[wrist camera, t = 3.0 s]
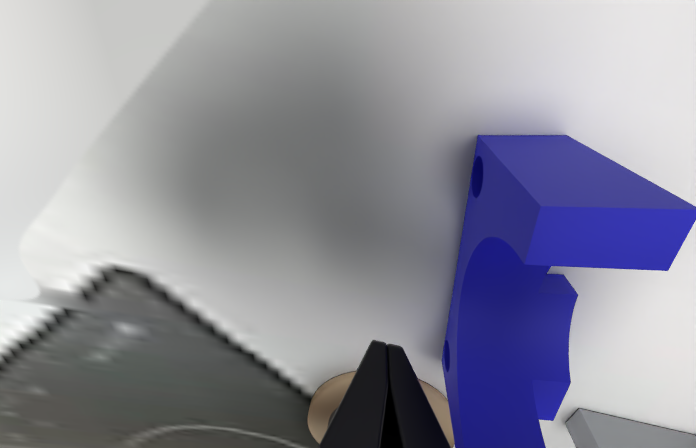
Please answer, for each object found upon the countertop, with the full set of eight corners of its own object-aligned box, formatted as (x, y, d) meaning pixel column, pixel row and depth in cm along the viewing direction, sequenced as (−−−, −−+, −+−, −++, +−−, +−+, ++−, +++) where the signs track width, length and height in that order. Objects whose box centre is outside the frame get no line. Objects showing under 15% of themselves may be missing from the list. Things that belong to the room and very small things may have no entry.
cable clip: (528, 363, 17) (587, 501, 12) (441, 357, 18) (461, 487, 13) (610, 133, 12) (788, 211, 6) (476, 134, 12) (540, 205, 7)
